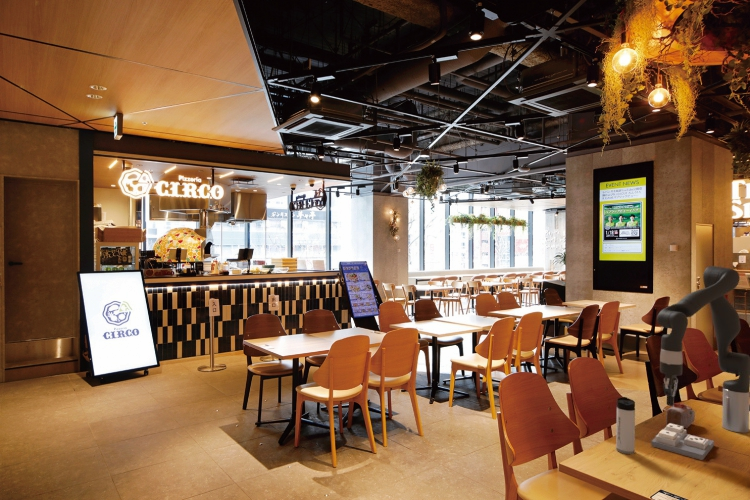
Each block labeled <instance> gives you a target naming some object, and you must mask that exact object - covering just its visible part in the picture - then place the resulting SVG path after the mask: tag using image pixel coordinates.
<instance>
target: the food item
mask: <svg viewBox="0 0 750 500" xmlns="http://www.w3.org/2000/svg"><path fill="white" fill-rule="evenodd" d="M695 413H696V411H695V410H693V407H691V406H689V405H687V404H684V403H678V402H674V405H673V406H670V407H669V408H667V409H666V419H665V420H666V421H665V423H666V424H665V425H666V426H667V425H668V424H669V423H671V424H675V425H679V426H683V427H684V428H685V429H688V428H689V427H690V426H691V425H692V424H693V423H694V421H695V420H696V419H695V418H696V417H695V416H696V415H695ZM684 428H683V429H684Z"/></svg>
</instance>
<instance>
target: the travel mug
mask: <svg viewBox="0 0 750 500" xmlns="http://www.w3.org/2000/svg"><path fill="white" fill-rule="evenodd" d="M635 407H636V402H635V400H633V399H632V398H628V397H627V396H622V397H618V398H617V399H616V429H615V430H616V431H615V432H616V435H615V436H616V437H615V438H616V442H615V443H616V444H615V449H616V451H617V452H619V453H621V454H625V455H633V454H635V448H636V447H635V446H636V445H635V444H636V443H635V442H636V440H635V438H636V432H635V431H636V408H635Z"/></svg>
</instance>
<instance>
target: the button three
mask: <svg viewBox="0 0 750 500" xmlns="http://www.w3.org/2000/svg"><path fill="white" fill-rule="evenodd" d="M694 436H695V435H693V436H689V437H688V438H687V440H691V441H695V442H699V443H704V442H705V439H706V438H705V439H702V438H703V437H701V438H698V437H699V436H697V437H694Z"/></svg>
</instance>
